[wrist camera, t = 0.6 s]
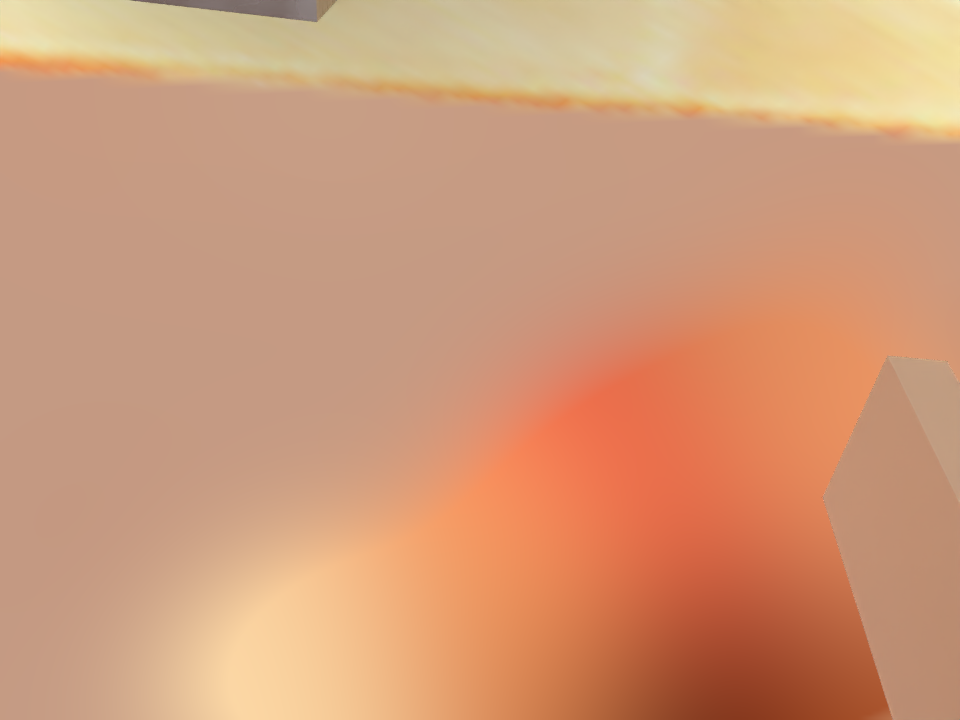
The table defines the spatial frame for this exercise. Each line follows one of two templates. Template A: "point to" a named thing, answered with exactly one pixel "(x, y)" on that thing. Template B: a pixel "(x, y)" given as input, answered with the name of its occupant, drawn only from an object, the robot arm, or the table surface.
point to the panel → (260, 7)
